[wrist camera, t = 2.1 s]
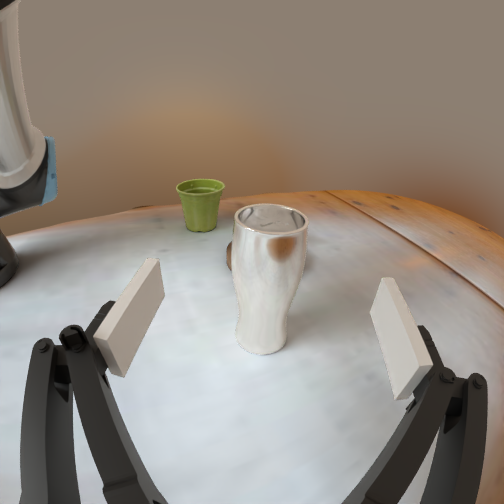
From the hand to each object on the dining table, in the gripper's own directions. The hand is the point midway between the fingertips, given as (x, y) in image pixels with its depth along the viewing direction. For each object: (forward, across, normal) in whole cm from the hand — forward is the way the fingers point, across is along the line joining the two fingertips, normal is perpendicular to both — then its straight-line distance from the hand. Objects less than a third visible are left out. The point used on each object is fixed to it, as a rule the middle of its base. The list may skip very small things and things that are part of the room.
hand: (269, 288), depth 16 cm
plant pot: (+38, -14, -15) cm, 43 cm away
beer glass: (+10, 0, -15) cm, 18 cm away
